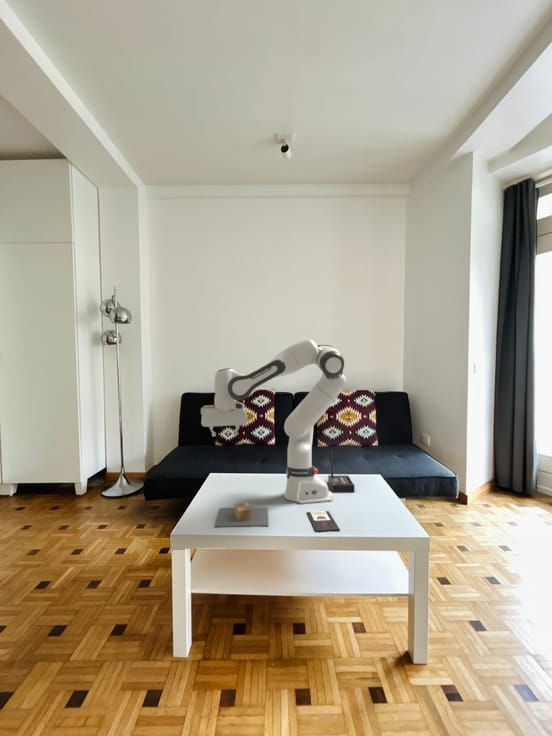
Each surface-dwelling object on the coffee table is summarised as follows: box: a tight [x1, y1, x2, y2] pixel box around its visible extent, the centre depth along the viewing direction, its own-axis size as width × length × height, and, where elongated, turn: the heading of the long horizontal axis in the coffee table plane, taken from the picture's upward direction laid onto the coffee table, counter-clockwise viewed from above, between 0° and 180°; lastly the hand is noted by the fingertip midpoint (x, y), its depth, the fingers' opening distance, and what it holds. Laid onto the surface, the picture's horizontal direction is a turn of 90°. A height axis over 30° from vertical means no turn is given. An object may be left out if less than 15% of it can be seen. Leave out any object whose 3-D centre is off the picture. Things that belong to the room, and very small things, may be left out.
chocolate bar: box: [306, 510, 341, 533], centre depth 149 cm, size 9×1×18 cm
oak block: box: [234, 502, 252, 521], centre depth 153 cm, size 5×4×8 cm
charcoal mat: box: [214, 506, 269, 528], centre depth 153 cm, size 20×18×1 cm
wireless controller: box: [327, 448, 355, 493], centre depth 193 cm, size 20×14×17 cm
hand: (224, 435), depth 172 cm, fingers open, 8 cm apart
